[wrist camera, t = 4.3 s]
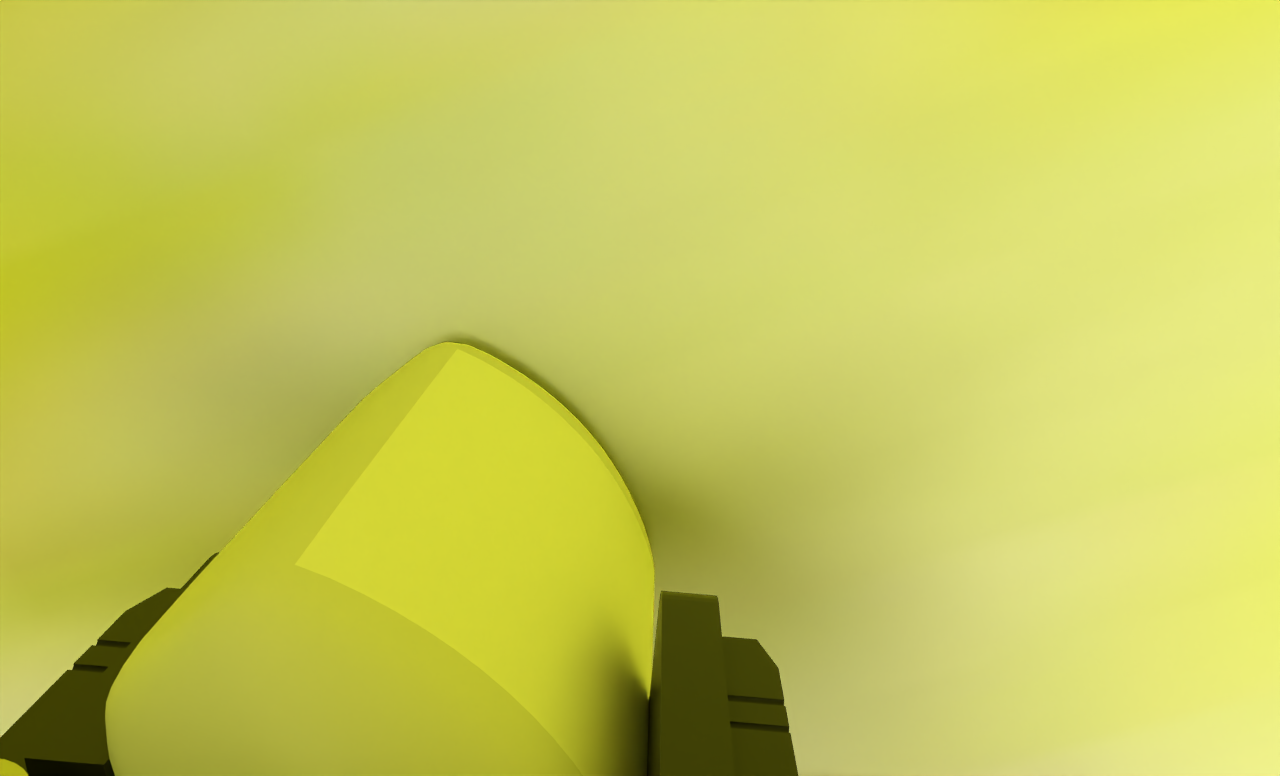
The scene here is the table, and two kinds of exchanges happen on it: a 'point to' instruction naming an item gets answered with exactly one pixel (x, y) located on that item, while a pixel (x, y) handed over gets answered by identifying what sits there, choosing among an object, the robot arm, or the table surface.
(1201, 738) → the table surface
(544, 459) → the squeeze bottle
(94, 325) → the table surface
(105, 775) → the robot arm
